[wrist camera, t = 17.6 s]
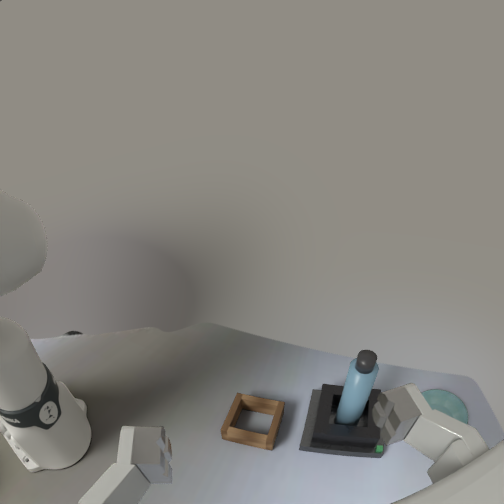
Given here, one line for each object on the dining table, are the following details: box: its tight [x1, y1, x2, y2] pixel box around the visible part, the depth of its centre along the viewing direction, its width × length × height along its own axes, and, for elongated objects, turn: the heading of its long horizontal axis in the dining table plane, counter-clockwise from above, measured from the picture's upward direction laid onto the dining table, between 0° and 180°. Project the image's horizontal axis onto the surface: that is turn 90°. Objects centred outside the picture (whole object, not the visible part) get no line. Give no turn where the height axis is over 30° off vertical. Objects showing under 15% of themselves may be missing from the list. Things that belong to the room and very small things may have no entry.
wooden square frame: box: [221, 393, 285, 450], centre depth 44 cm, size 8×8×3 cm
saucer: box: [421, 389, 468, 424], centre depth 40 cm, size 12×12×2 cm
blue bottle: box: [334, 350, 379, 426], centre depth 39 cm, size 4×4×15 cm
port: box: [299, 384, 384, 458], centre depth 42 cm, size 13×12×4 cm
